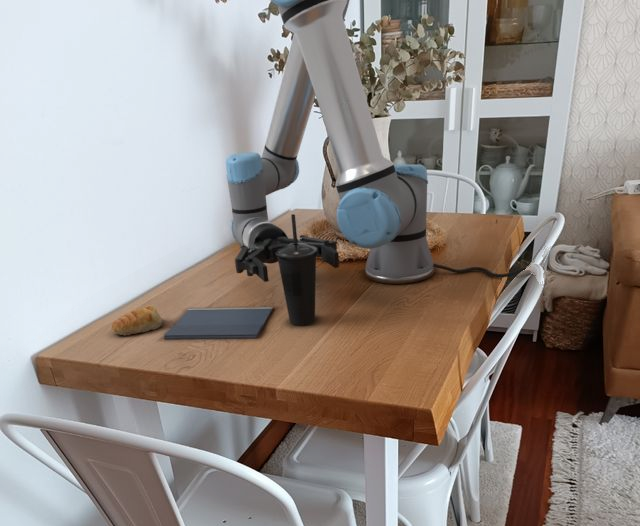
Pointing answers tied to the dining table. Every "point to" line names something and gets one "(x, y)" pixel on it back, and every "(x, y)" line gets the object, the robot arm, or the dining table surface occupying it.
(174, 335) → the dark gray flat panel
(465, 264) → the dining table surface
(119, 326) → the pastry
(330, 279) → the dining table surface
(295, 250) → the drinking cup
